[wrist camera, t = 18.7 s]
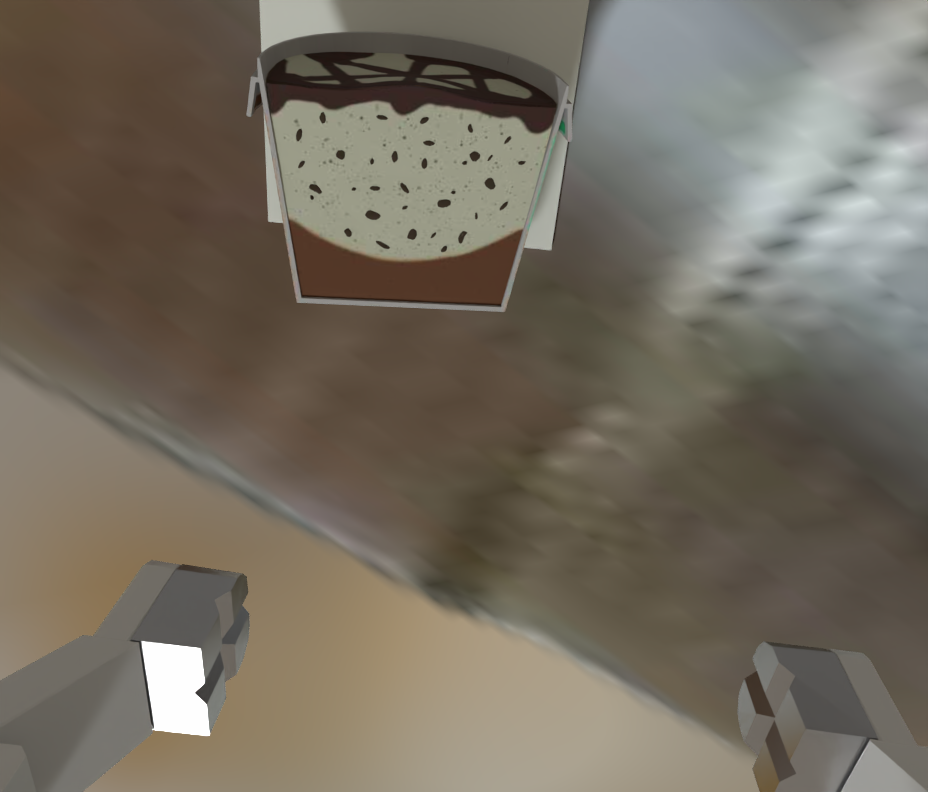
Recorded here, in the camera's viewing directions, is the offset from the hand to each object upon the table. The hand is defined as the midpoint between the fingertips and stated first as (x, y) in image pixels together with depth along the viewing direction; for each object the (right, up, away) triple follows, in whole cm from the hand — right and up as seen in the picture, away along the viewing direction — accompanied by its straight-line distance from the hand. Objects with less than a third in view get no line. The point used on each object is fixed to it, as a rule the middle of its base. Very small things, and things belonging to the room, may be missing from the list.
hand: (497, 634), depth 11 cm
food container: (-4, +10, +23) cm, 25 cm away
